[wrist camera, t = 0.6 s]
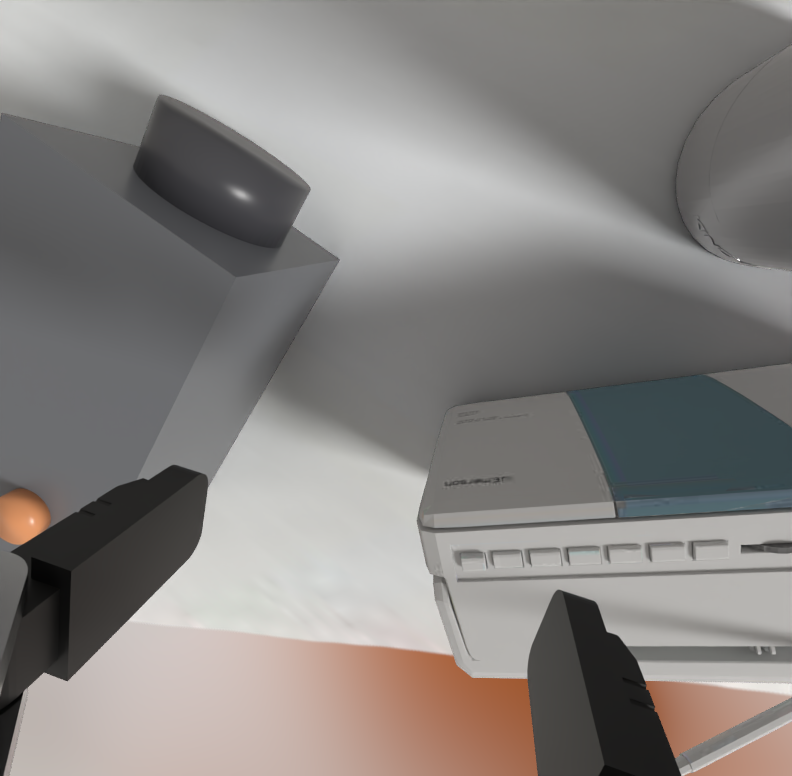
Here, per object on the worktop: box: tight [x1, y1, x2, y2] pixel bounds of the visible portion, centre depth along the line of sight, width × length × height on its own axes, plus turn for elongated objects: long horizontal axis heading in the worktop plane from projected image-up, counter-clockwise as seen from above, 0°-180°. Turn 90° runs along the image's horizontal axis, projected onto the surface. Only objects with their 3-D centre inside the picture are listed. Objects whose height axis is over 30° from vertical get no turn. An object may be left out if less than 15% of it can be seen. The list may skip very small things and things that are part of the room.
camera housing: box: [0, 95, 339, 552], centre depth 25 cm, size 23×10×13 cm, turn 146°
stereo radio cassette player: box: [417, 363, 792, 776], centre depth 18 cm, size 21×8×20 cm, turn 102°
